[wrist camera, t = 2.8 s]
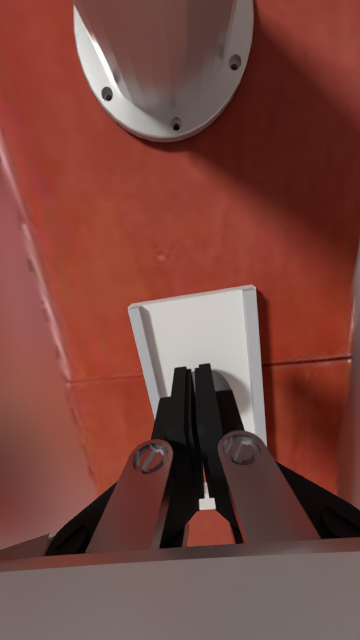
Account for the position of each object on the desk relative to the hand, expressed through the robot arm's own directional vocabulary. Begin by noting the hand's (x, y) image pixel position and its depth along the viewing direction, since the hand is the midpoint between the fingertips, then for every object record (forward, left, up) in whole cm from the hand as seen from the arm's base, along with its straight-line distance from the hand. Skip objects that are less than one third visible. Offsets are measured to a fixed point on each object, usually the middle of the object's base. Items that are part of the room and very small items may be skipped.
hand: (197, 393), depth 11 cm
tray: (+12, 0, -13) cm, 18 cm away
